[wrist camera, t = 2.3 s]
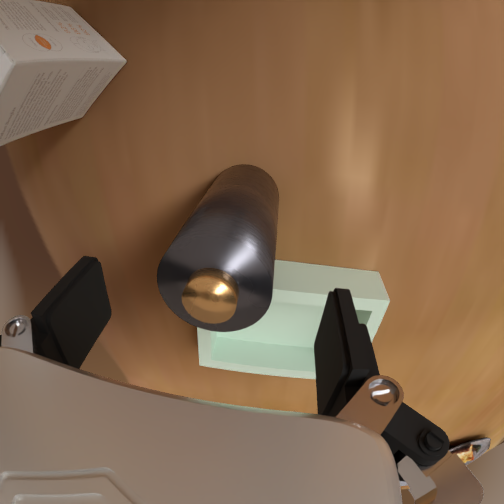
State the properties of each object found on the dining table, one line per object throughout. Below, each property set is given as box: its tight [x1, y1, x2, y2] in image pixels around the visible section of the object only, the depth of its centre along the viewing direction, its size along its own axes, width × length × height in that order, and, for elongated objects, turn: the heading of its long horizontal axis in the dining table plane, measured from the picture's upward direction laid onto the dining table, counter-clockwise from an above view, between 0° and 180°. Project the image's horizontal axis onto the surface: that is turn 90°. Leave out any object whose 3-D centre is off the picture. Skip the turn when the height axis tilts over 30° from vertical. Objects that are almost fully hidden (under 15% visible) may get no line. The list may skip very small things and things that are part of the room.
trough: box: [197, 260, 390, 379], centre depth 23 cm, size 9×13×4 cm
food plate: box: [399, 438, 491, 486], centre depth 42 cm, size 25×23×4 cm
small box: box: [0, 0, 127, 146], centre depth 11 cm, size 8×6×10 cm
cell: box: [157, 165, 279, 332], centre depth 15 cm, size 4×4×11 cm
